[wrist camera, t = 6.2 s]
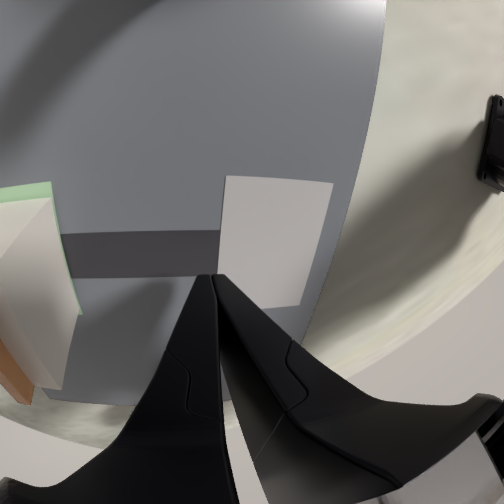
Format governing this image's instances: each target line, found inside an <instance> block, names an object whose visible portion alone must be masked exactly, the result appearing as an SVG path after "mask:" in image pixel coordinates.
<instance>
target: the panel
mask: <svg viewBox="0 0 504 504" xmlns="http://www.w3.org/2000/svg"><path fill="white" fill-rule="evenodd" d="M385 13H386V0H0V203H4V202H12V201H20V200H29V199H39V198H49V197H52V204H53V210H54V215H55V221H56V226H57V231H58V235H59V240H60V244H61V248H62V253H63V257H64V260H65V264H66V268H67V271H68V275H69V278H70V282H71V285H72V288H73V291H74V294H75V297H76V300H77V303H78V306H79V313H78V317H77V320H76V324H75V328H74V332H73V336H72V340H71V344H70V349H69V353H68V358H67V363H66V368H65V374H64V379H63V385H62V390H56V389H48V388H42V387H41V388H42V389H43V391H44V392H45V393H46V394H47V395H48V397H49V398H50V399H56V400H63V401H71V402H81V403H92V404H107V405H137V404H138V402H139V400H140V399H141V397H142V395H143V394H144V392H145V390H146V388H147V386H148V385H149V383H150V381H151V379H152V377H153V375H154V373H155V371H156V369H157V367H158V364H159V362H160V360H161V358H162V355H163V353H164V351H165V348H166V346H167V343H168V341H169V339H170V336H171V334H172V331H173V329H174V327H175V324H176V322H177V320H178V317H179V315H180V313H181V310H182V308H183V306H184V304H185V301H186V299H187V297H188V294H189V292H190V290H191V288H192V285H193V283H194V281H195V279H196V277H197V275H199V274H209V275H212V274H225V275H226V276H227V277H228V278H229V279H230V280H231V281H232V282H233V283H234V284H235V285H236V286H237V287H238V288H239V289H240V290H242V291H243V292H244V293H245V294H246V295H247V296H248V297H249V298H250V299H251V300H252V301H253V302H254V303H255V304H256V305H257V306H258V307H259V308H260V309H261V310H263V311H264V312H265V313H266V314H267V315H268V316H269V317H270V318H271V319H272V320H273V321H274V322H275V323H276V324H278V325H279V326H280V327H281V328H282V329H283V330H284V331H285V332H286V333H287V334H288V335H289V336H291V337H292V340H295V341H296V342H297V343H298V344H300V345H301V343H302V340H303V338H304V335H305V333H306V330H307V328H308V325H309V323H310V320H311V318H312V315H313V312H314V310H315V307H316V304H317V302H318V299H319V296H320V293H321V291H322V288H323V285H324V282H325V279H326V276H327V273H328V271H329V268H330V265H331V262H332V259H333V256H334V252H335V249H336V246H337V243H338V240H339V237H340V233H341V230H342V227H343V224H344V220H345V217H346V213H347V210H348V206H349V203H350V199H351V196H352V192H353V188H354V185H355V181H356V177H357V173H358V169H359V165H360V161H361V157H362V153H363V148H364V144H365V140H366V135H367V131H368V126H369V121H370V116H371V111H372V106H373V101H374V95H375V90H376V84H377V78H378V71H379V65H380V58H381V50H382V43H383V34H384V24H385ZM220 366H221V362H220ZM221 383H222V398H223V401H228V400H232V399H231V396H230V393H229V389H228V386H227V383H226V379H225V376H224V373H223V369H222V366H221Z"/></svg>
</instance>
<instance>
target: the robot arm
mask: <svg viewBox="0 0 504 504" xmlns="http://www.w3.org/2000/svg"><path fill="white" fill-rule="evenodd" d="M478 180H480V181H481V182H483V183H485V184H488V185H490V186H492V187H494V188H496V189H498V190H500V191H502V192H504V99H503V97H502V96H499V95H495V96H494V100H493V107H492V114H491V119H490V125H489V130H488V135H487V139H486V144H485V148H484V152H483V156H482V160H481V164H480V167H479V171H478ZM220 362H221V366H222V369H223V373H224V376H225V379H226V383H227V386H228V389H229V393H230V396H231V399H232V402H233V405H234V408H235V412H236V415H237V418H238V421H239V424H240V427H241V430H242V433H243V436H244V439H245V441H246V444H247V447H248V450H249V453H250V456H251V458H252V461H253V462H254V463H253V464H254V467H255V470H256V472H257V475H258V477H259V480H260V483H261V485H262V488H263V490H264V493H265V495H266V498H267V500H268V503H269V504H504V400H503V401H502V400H501V399H500V398H497V397H495V396H493V395H489V394H480V393H477V394H475V395H474V396H473V397H472V398H470V399H469V400H468V401H467V402H464V403H461V404H458V405H450V406H449V405H447V406H446V405H423V404H410V403H399V402H390V401H384V400H380V399H377V398H374V397H372V396H370V395H368V394H366V393H364V392H363V391H361V390H360V389H358V388H357V387H355V386H354V385H352V384H351V383H349V382H348V381H346V380H345V379H344V378H342V377H341V376H339V375H338V374H336V373H335V372H333V371H332V370H331V369H329V368H328V367H327V366H325V365H324V364H323V363H321V362H320V361H319V360H317V359H316V358H315V357H313V356H312V355H311V354H310V353H309V352H308V351H306V350H305V349H304V348H303V347H302V346H301V345H300V344H298V343H297V342H296V341H295V340H292V337H291V336H289V335H288V334H287V333H286V332H285V331H284V330H283V329H282V328H281V327H280V326H279V325H278V324H276V323H275V322H274V321H273V320H272V319H271V318H270V317H269V316H268V315H267V314H266V313H265V312H264V311H263V310H261V309H260V308H259V307H258V306H257V305H256V304H255V303H254V302H253V301H252V300H251V299H250V298H249V297H248V296H247V295H246V294H245V293H244V292H243V291H242V290H240V289H239V288H238V287H237V286H236V285H235V284H234V283H233V282H232V281H231V280H230V279H229V278H228V277H227V276H226V275H225V274H212V275H209V274H199V275H197V277H196V279H195V281H194V283H193V285H192V288H191V290H190V292H189V294H188V297H187V299H186V301H185V304H184V306H183V308H182V310H181V313H180V315H179V317H178V320H177V322H176V324H175V327H174V329H173V331H172V334H171V336H170V339H169V341H168V343H167V346H166V348H165V351H164V353H163V355H162V358H161V360H160V362H159V364H158V367H157V369H156V371H155V373H154V375H153V377H152V379H151V381H150V383H149V385H148V386H147V388H146V390H145V392H144V394H143V395H142V397H141V399H140V400H139V402H138V404H137V405H136V407H135V409H134V411H133V412H132V414H131V416H130V417H129V419H128V421H127V423H126V424H125V426H124V428H123V429H122V431H121V432H120V434H119V435H118V437H117V438H116V439H115V440H114V441H113V442H112V443H111V444H110V445H109V446H108V447H107V448H106V449H105V450H103V451H102V452H101V453H99V454H98V455H97V456H96V457H94V458H93V459H92V460H90V461H89V462H88V463H86V464H85V465H84V466H82V467H81V468H80V469H79V470H77V471H76V472H75V473H73V474H72V475H70V476H69V477H68V478H66V479H65V480H63V481H62V482H60V483H58V484H56V485H53V486H50V487H35V486H31V485H28V484H25V483H23V482H20V481H17V480H15V479H11V478H8V477H4V478H3V479H2V480H1V481H0V504H240V503H239V499H238V495H237V491H236V487H235V482H234V478H233V473H232V469H231V464H230V459H229V454H228V449H227V444H226V436H225V426H224V413H223V398H222V383H221V366H220Z"/></svg>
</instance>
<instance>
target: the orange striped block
mask: <svg viewBox="0 0 504 504" xmlns="http://www.w3.org/2000/svg"><path fill="white" fill-rule="evenodd" d="M78 313H79V306H78V303H77V300H76V297H75V294H74V291H73V288H72V285H71V282H70V278H69V275H68V271H67V268H66V264H65V260H64V257H63V253H62V248H61V244H60V240H59V235H58V231H57V226H56V221H55V215H54V210H53V204H52V197H49V198H39V199H29V200H20V201H12V202H4V203H0V383H1V384H2V386H3V387H4V388H5V389H6V390H7V391H8V392H9V393H10V394H11V396H12V397H13V398H14V399H15V400H16V401H17V402H18V403H22V404H27V405H31V402H32V396H33V391H34V386H36V387H42V388H48V389H56V390H62V385H63V379H64V374H65V368H66V363H67V358H68V353H69V349H70V344H71V340H72V336H73V332H74V328H75V324H76V320H77V317H78Z"/></svg>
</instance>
